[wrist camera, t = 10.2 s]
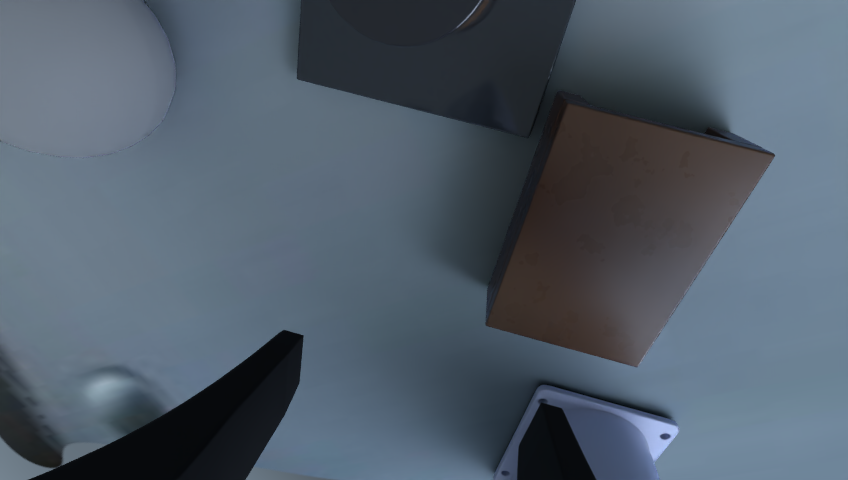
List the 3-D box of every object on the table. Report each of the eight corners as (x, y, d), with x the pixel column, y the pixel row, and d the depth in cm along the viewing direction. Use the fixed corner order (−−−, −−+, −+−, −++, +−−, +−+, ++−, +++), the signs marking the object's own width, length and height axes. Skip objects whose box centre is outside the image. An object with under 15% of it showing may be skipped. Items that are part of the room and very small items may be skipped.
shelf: (621, 325, 21) (638, 368, 19) (486, 288, 21) (484, 326, 19) (733, 133, 16) (777, 154, 14) (557, 89, 17) (567, 102, 14)
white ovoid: (177, -64, 16) (-33, -117, 10) (234, 128, 20) (105, 182, 13) (-24, -30, 18) (-310, -57, 12) (60, 140, 21) (-127, 191, 15)
